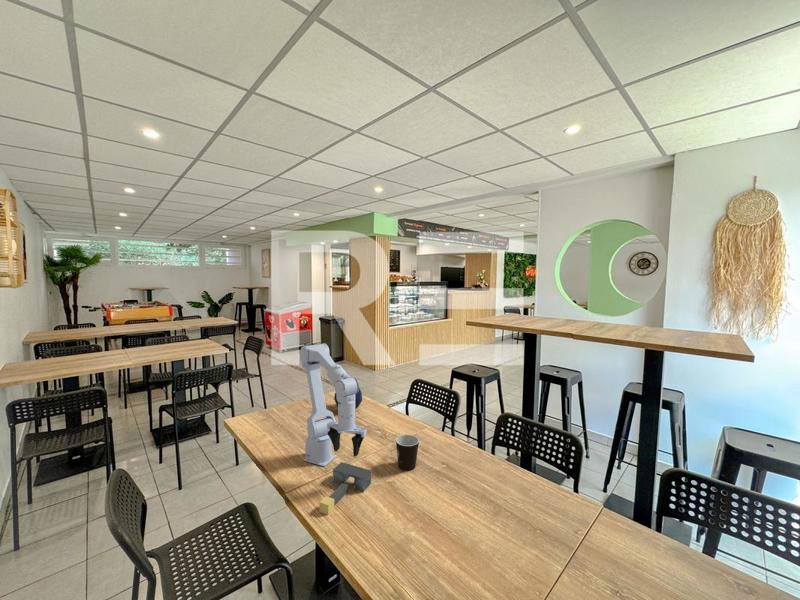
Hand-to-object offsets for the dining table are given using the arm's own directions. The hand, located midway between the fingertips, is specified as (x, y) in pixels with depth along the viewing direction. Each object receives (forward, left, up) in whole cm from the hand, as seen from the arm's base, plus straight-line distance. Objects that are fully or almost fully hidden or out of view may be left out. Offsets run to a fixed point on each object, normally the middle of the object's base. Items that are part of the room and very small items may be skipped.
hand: (346, 452), depth 109 cm
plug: (+2, -9, -11) cm, 14 cm away
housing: (+2, 0, -10) cm, 11 cm away
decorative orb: (-32, +52, -11) cm, 62 cm away
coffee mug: (+15, +19, -11) cm, 26 cm away
